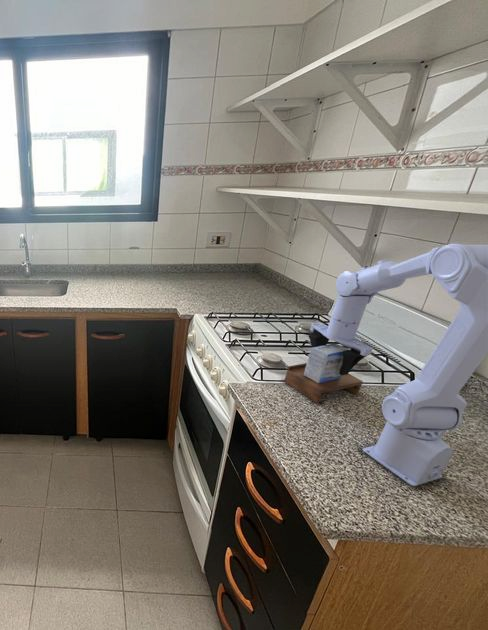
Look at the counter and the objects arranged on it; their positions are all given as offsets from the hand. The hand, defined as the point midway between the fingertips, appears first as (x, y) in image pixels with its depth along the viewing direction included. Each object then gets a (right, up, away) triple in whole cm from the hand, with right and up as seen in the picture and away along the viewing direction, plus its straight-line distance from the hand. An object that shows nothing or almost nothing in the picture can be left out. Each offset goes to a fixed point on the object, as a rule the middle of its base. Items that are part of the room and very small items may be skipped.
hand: (329, 366), depth 90 cm
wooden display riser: (0, -6, +3) cm, 7 cm away
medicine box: (-1, -3, +1) cm, 4 cm away
